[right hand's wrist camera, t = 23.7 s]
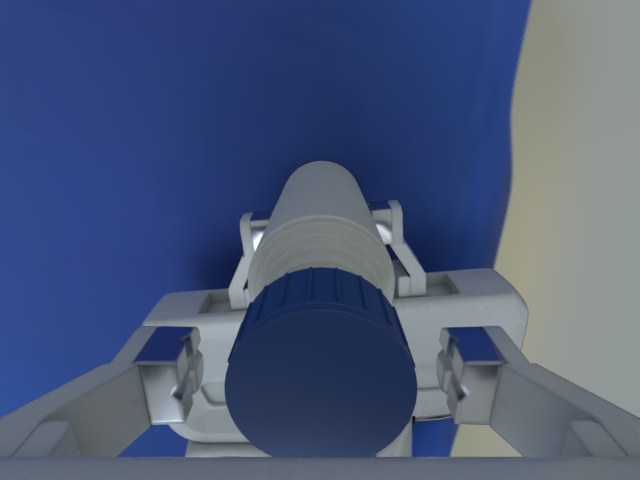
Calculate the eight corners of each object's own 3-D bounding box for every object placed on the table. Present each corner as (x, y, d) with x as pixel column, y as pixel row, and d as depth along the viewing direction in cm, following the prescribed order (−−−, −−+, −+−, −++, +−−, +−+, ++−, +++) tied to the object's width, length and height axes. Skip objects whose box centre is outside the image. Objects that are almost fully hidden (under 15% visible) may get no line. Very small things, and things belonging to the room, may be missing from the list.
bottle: (372, 218, 25) (461, 419, 9) (303, 248, 26) (272, 484, 10) (342, 147, 24) (383, 237, 8) (269, 180, 24) (167, 328, 8)
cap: (228, 384, 11) (206, 450, 9) (258, 246, 9) (241, 285, 7) (373, 415, 11) (384, 485, 9) (423, 286, 10) (449, 333, 8)
